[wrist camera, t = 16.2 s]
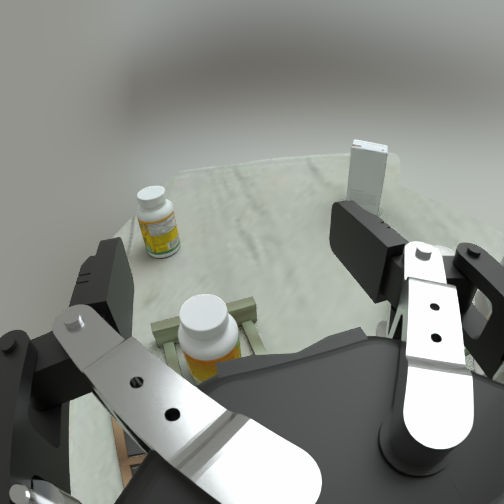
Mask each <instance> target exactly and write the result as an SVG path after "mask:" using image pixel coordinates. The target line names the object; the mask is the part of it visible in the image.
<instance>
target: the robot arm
mask: <svg viewBox="0 0 504 504" xmlns="http://www.w3.org/2000/svg"><path fill="white" fill-rule="evenodd" d="M329 239H330V246H331V249H332V251H333V253H334V254H335V255H336V257H337V258H338V259H339V260H340V261H341V263H342V264H343V265H344V266H345V267H346V269H347V270H348V271H349V272H350V273H351V275H352V276H353V277H354V278H355V279H356V281H357V282H358V283H359V284H360V286H361V287H362V288H363V289H364V290H365V292H366V293H367V294H368V295H369V297H370V298H371V299H372V300H373V302H374V303H375V304H376V303H379V302H382V301H386V300H388V301H389V302H390V306H389V310H388V319H387V327H386V335H385V337H379V336H366V335H365V333H364V332H363V330H362V329H361V327H358V328H355V329H351V330H348V331H345V332H341V333H338V334H334V335H331V336H328V337H326V338H324V339H322V340H320V341H319V342H317V343H315V344H313V345H311V346H309V347H307V348H305V349H304V350H302V351H300V352H297V353H293V354H269V355H251V356H247V357H242V358H237V359H232V360H228V361H223V362H217V363H216V368H217V373H218V374H217V375H215V376H212V377H210V378H208V379H207V380H205V381H203V382H202V383H200V384H199V385H198V386H196V387H195V386H193V385H192V384H191V383H189V382H188V381H187V380H185V379H184V378H183V377H181V376H180V375H179V374H178V373H176V372H175V371H174V370H172V369H171V368H170V367H169V366H167V365H166V364H165V363H164V362H163V361H161V360H160V359H159V358H158V357H156V356H155V355H154V354H153V353H152V352H150V351H149V350H148V349H147V348H146V347H144V346H143V345H142V344H141V343H140V342H139V341H137V340H136V339H135V338H133V337H132V316H133V298H134V283H133V277H132V273H131V269H130V266H129V263H128V259H127V256H126V252H125V249H124V245H123V242H122V239H121V238H120V237H117V238H112V239H108V240H102V241H100V243H99V246H98V250H97V253H96V255H95V256H90V257H89V258H88V259H87V260H86V261H85V262H84V263H83V264H82V266H81V268H80V272H79V277H78V278H77V281H76V285H75V288H74V291H73V294H72V298H71V301H70V305H69V308H67V309H65V310H64V311H62V312H61V313H60V314H59V315H58V316H57V317H56V318H55V320H54V322H53V325H52V330H53V331H51V332H49V333H47V334H45V335H42V336H40V337H37V338H35V339H32V340H30V338H29V337H28V335H27V333H26V332H24V331H22V330H13V331H10V332H8V333H6V334H5V335H3V336H2V337H1V338H0V504H82V503H81V502H80V501H79V500H77V499H76V498H74V497H73V496H71V490H70V474H69V403H70V400H73V399H75V398H78V397H80V396H83V395H85V394H88V393H90V392H92V393H93V395H94V396H95V397H96V398H97V400H98V401H99V402H100V403H101V404H102V405H103V407H104V408H105V409H106V410H107V411H108V412H109V414H110V415H111V416H112V417H113V418H114V419H115V420H116V421H117V423H118V424H119V425H120V426H121V427H122V428H123V429H124V430H125V431H126V433H127V434H128V435H129V436H130V437H131V438H132V439H133V440H134V441H135V443H136V444H137V445H138V446H139V447H140V448H141V449H142V450H143V451H144V452H145V453H146V454H147V455H146V457H145V458H144V460H143V461H142V463H141V464H140V466H139V467H138V469H137V470H136V472H135V474H134V475H133V477H132V478H131V480H130V481H129V483H128V484H127V486H126V487H125V489H124V490H123V492H122V493H121V494H120V496H119V497H118V499H117V500H116V502H115V503H114V504H504V257H503V259H502V261H501V263H499V262H497V261H496V260H495V259H494V258H493V257H492V256H491V255H490V254H488V253H487V252H486V251H485V250H484V249H482V248H481V247H479V246H477V245H475V244H471V243H460V244H459V245H458V246H457V249H456V252H455V255H454V256H442V254H441V252H440V251H439V250H438V249H437V248H435V247H434V246H432V245H430V244H427V243H423V242H411V243H409V242H408V241H407V240H406V239H404V238H403V237H402V236H401V235H400V234H398V233H397V232H396V231H395V230H394V229H392V228H390V226H389V225H388V224H386V223H384V221H383V220H382V219H380V218H379V217H378V216H377V215H375V214H372V213H370V212H368V211H366V210H365V209H363V208H362V207H361V206H360V205H358V204H357V203H356V202H354V201H353V200H350V201H342V202H335V203H334V204H333V206H332V213H331V226H330V238H329ZM477 289H479V290H480V291H481V292H482V293H483V294H484V296H485V298H486V299H487V302H488V307H489V314H490V312H491V311H492V314H491V316H490V318H489V320H487V319H486V318H485V317H484V316H483V315H482V313H481V312H480V311H479V310H478V309H477V308H476V307H475V306H474V305H473V303H472V300H473V298H474V296H475V293H476V291H477ZM489 314H488V315H489ZM464 346H465V347H466V349H467V350H468V351H469V353H470V354H471V355H472V357H473V358H474V359H475V361H476V362H477V363H478V365H479V366H480V368H481V369H482V370H483V372H484V373H485V375H486V376H487V377H488V378H487V377H485V376H482V375H480V374H477V373H475V372H473V371H470V370H469V369H467V368H466V366H465V356H464Z"/></svg>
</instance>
